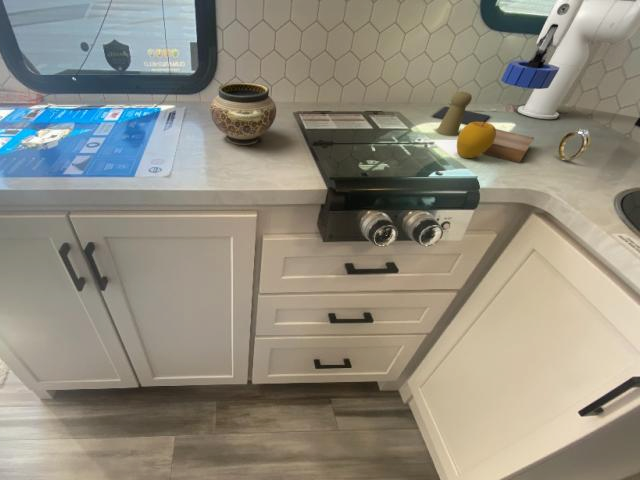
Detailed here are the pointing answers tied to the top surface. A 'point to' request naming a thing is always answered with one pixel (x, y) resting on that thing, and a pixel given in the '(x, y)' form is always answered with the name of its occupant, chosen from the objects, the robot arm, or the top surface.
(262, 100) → the floral ceramic pot
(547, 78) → the ring
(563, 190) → the top surface
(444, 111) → the mat
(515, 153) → the platform
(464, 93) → the tan pawn figure
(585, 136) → the ring
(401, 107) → the top surface
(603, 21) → the robot arm
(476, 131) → the apple
